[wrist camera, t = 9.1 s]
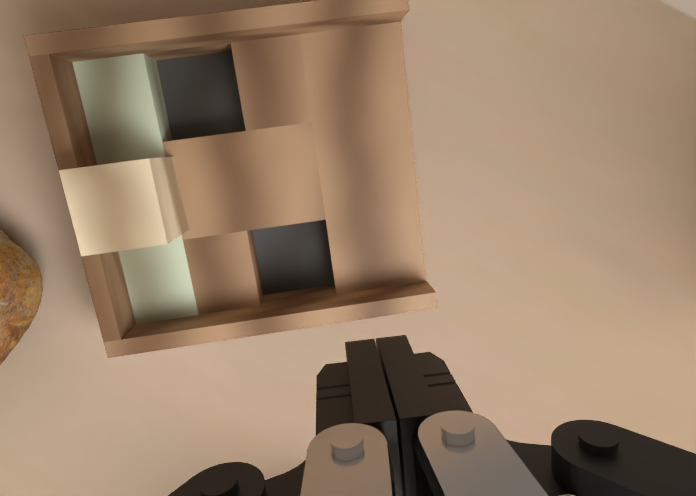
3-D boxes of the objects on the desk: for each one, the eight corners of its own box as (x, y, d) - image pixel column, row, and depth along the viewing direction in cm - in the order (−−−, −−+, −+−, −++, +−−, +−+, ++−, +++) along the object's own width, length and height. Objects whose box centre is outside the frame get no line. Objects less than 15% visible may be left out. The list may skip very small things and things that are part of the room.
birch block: (173, 156, 29) (148, 158, 24) (188, 229, 30) (167, 244, 25) (97, 166, 28) (58, 170, 24) (115, 239, 29) (81, 256, 25)
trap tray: (391, 14, 30) (407, -11, 25) (419, 284, 34) (437, 307, 29) (71, 54, 29) (23, 35, 24) (137, 326, 33) (108, 357, 28)
